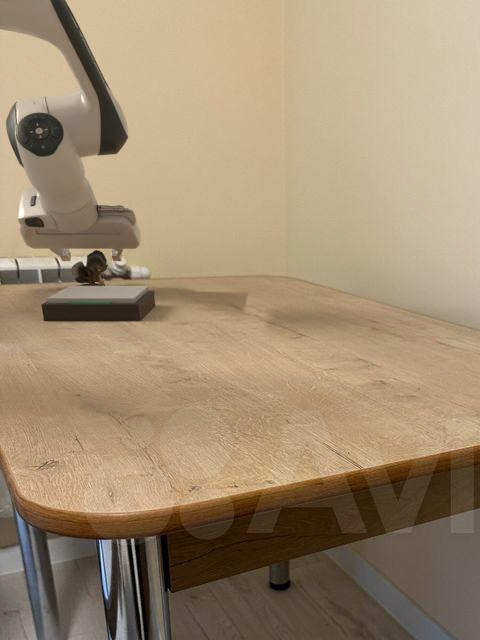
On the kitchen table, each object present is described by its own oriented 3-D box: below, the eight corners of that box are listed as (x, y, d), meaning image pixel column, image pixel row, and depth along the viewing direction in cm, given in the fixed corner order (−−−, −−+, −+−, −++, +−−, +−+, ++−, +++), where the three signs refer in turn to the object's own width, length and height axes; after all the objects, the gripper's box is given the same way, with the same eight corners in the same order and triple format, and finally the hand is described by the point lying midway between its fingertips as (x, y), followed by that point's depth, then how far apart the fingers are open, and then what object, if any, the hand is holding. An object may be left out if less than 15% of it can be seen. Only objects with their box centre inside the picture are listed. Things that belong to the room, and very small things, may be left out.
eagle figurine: (122, 282, 135) (116, 267, 141) (96, 251, 130) (92, 237, 137) (89, 305, 135) (85, 289, 141) (62, 274, 130) (60, 260, 137)
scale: (43, 320, 105) (40, 298, 104) (69, 304, 118) (66, 285, 116) (140, 320, 106) (137, 298, 105) (155, 304, 119) (153, 285, 118)
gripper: (133, 192, 124) (149, 245, 137) (12, 191, 122) (39, 244, 135) (131, 221, 122) (147, 272, 135) (7, 220, 120) (36, 272, 133)
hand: (92, 258), depth 135 cm, fingers open, 8 cm apart
